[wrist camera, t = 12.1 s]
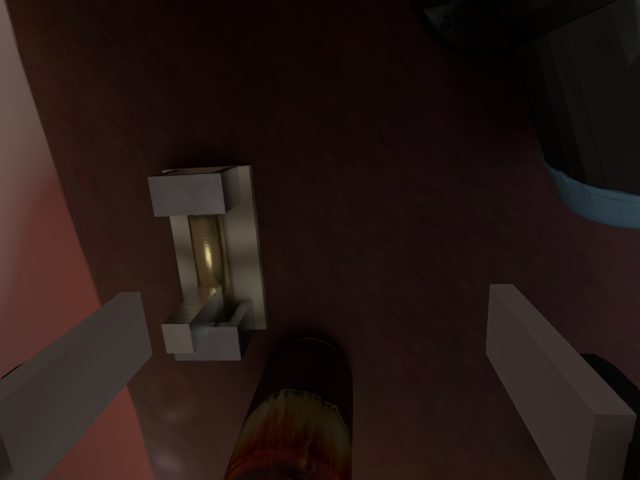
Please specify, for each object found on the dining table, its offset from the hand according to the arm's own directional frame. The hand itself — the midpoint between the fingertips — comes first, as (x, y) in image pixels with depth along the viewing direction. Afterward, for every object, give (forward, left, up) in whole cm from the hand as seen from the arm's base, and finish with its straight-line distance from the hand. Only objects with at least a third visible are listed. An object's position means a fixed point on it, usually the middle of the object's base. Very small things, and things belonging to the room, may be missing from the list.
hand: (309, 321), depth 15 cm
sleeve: (-1, -15, -31) cm, 34 cm away
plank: (+7, -15, -32) cm, 36 cm away
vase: (+23, -5, -32) cm, 40 cm away
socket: (+15, -15, -30) cm, 37 cm away
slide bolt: (+7, -15, -30) cm, 34 cm away
